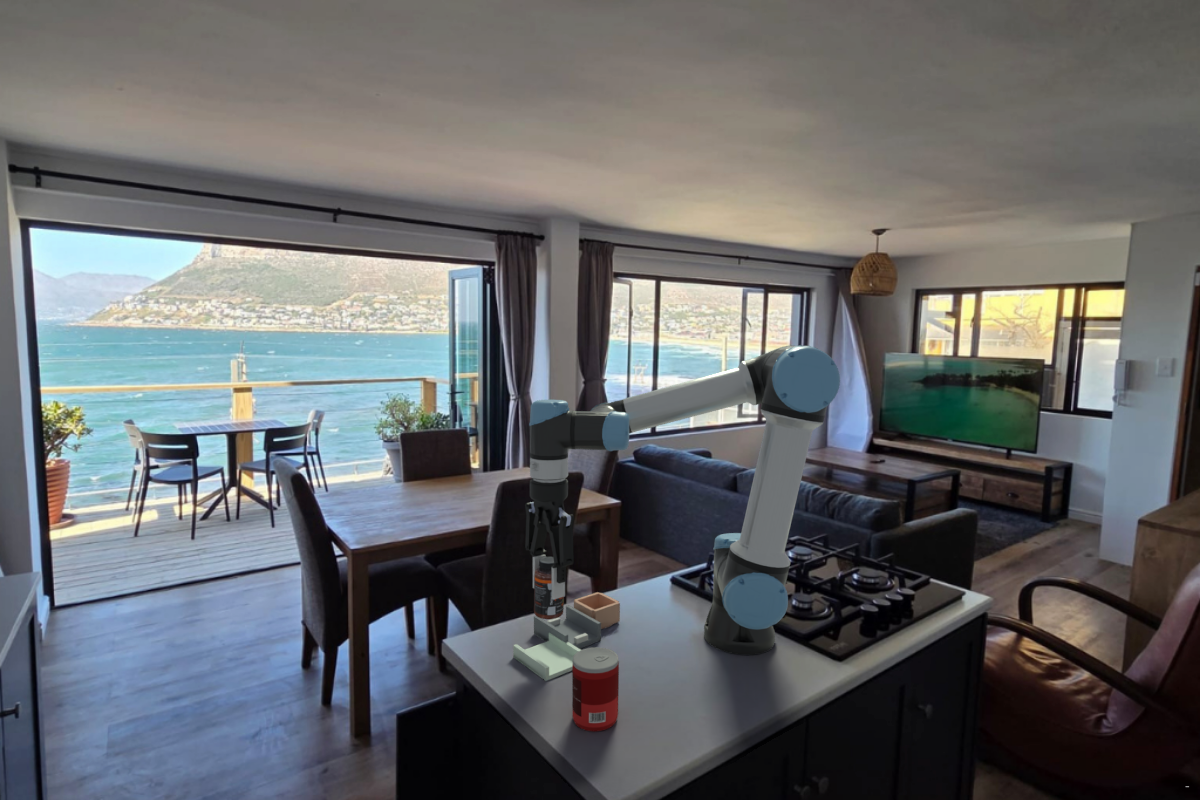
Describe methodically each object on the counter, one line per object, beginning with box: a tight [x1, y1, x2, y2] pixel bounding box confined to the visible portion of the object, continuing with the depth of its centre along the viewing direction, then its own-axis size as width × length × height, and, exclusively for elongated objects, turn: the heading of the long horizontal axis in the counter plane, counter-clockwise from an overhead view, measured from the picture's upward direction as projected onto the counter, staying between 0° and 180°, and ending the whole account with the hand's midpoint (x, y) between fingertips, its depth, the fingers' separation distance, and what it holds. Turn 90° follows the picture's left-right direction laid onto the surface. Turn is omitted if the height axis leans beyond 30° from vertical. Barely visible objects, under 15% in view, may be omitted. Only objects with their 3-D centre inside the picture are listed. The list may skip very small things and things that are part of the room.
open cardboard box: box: [573, 591, 621, 630], centre depth 146 cm, size 8×8×5 cm
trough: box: [512, 633, 582, 682], centre depth 127 cm, size 12×10×3 cm
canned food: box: [571, 647, 620, 732], centre depth 108 cm, size 8×8×11 cm
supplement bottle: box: [533, 556, 565, 620], centre depth 126 cm, size 6×6×11 cm
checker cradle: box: [533, 604, 602, 650], centre depth 138 cm, size 12×10×4 cm
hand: (548, 591), depth 126 cm, fingers closed on supplement bottle, 6 cm apart
